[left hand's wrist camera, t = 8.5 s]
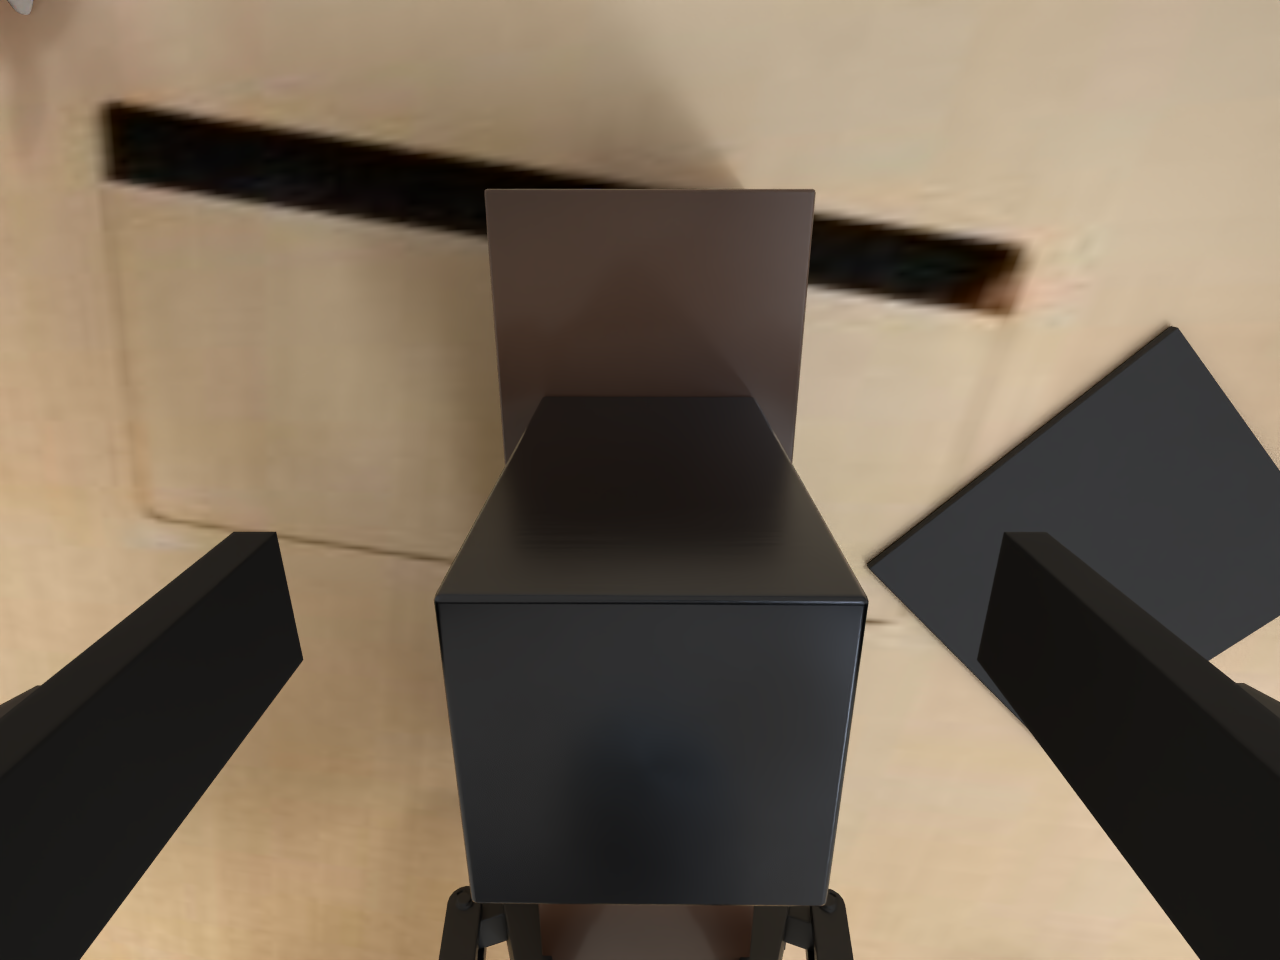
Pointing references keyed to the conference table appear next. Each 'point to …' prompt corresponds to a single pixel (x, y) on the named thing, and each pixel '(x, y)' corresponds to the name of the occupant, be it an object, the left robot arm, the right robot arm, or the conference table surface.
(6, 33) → the conference table surface
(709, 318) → the walnut case
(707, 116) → the conference table surface
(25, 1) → the fish
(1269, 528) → the rubber mat
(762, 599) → the metal block
